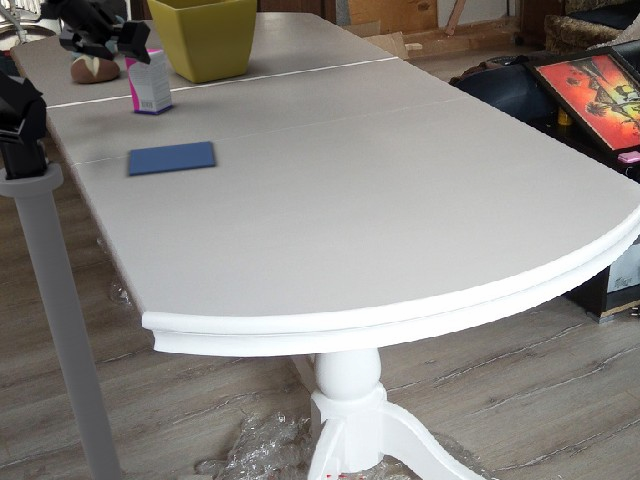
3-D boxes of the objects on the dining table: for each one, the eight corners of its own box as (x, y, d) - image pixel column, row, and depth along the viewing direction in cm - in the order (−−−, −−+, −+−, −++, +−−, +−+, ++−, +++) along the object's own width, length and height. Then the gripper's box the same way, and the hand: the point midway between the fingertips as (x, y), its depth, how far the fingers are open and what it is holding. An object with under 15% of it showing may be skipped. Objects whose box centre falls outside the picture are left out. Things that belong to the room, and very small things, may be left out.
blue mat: (129, 175, 135) (129, 173, 134) (131, 152, 145) (130, 149, 145) (214, 166, 137) (214, 163, 136) (210, 143, 147) (210, 141, 146)
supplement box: (174, 106, 168) (164, 49, 162) (157, 115, 163) (147, 56, 157) (150, 104, 170) (141, 47, 164) (133, 112, 165) (122, 54, 159)
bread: (70, 86, 185) (65, 63, 183) (76, 73, 195) (71, 52, 192) (119, 81, 186) (115, 59, 184) (123, 69, 196) (119, 48, 194)
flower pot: (266, 74, 185) (258, -4, 176) (188, 90, 177) (176, 9, 168) (231, 59, 199) (222, -15, 191) (157, 73, 191) (144, -3, 183)
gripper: (133, -27, 141) (183, 26, 155) (55, -30, 149) (109, 21, 163) (111, 31, 139) (163, 79, 153) (33, 25, 148) (89, 71, 162)
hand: (131, 60), depth 158 cm, fingers open, 9 cm apart
